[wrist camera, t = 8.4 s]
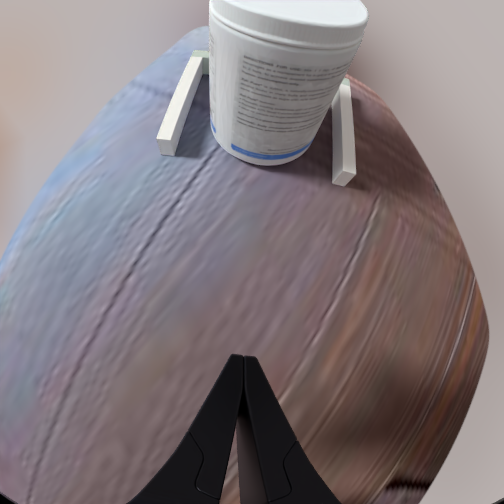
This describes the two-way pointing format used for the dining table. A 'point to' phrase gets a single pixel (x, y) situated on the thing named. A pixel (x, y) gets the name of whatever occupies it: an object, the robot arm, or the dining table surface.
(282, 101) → the supplement tub
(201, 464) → the robot arm
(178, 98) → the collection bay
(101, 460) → the dining table surface
